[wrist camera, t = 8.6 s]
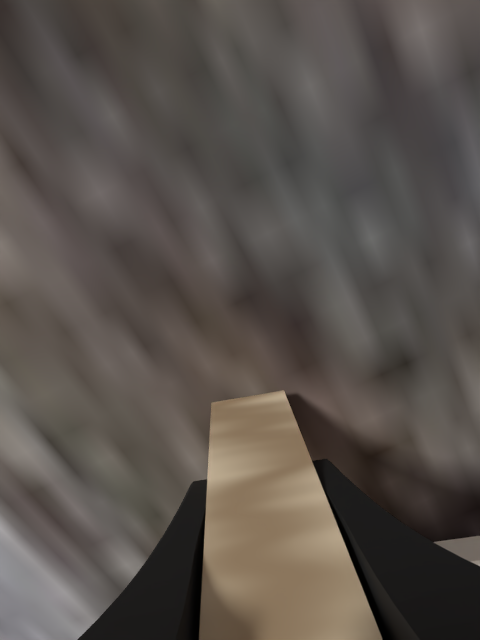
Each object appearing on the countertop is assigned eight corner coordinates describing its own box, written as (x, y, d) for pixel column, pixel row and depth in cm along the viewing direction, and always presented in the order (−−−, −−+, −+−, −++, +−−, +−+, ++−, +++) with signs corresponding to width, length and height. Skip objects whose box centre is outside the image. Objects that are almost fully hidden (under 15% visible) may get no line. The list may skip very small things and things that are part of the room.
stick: (284, 390, 15) (393, 665, 6) (293, 454, 16) (403, 796, 6) (211, 402, 15) (195, 700, 6) (223, 466, 16) (229, 829, 6)
